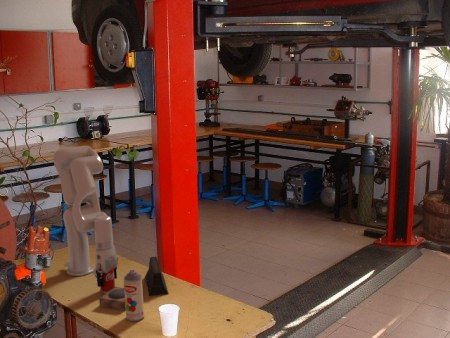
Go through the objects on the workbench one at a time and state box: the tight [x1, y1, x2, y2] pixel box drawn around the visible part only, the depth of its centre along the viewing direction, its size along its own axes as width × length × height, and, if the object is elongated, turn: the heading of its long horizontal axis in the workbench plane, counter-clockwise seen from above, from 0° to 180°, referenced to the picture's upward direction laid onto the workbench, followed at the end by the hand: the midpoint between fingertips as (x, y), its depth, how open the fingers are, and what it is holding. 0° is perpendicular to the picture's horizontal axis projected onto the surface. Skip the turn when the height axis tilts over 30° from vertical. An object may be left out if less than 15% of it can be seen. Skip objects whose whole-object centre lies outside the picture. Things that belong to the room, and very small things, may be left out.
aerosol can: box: [123, 268, 145, 323], centre depth 214 cm, size 7×7×20 cm
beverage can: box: [99, 268, 116, 294], centre depth 241 cm, size 6×6×12 cm
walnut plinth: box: [98, 286, 126, 312], centre depth 229 cm, size 12×12×4 cm
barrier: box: [144, 256, 169, 297], centre depth 247 cm, size 24×9×10 cm, turn 12°
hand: (107, 282), depth 241 cm, fingers open, 9 cm apart
